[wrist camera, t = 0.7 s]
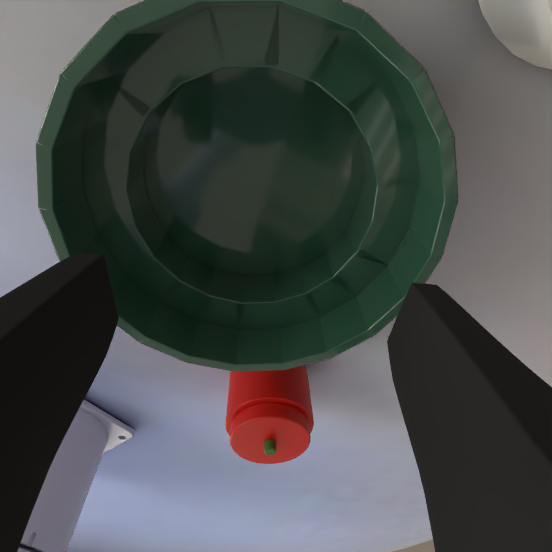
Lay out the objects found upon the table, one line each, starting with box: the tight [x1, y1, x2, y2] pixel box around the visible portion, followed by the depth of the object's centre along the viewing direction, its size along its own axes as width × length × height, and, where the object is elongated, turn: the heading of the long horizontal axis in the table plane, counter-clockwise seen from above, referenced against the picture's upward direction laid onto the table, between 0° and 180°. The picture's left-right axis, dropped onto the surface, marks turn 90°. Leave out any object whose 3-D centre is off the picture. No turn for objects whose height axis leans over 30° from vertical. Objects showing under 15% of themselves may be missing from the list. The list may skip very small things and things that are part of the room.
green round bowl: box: [36, 0, 458, 372], centre depth 16 cm, size 15×15×6 cm
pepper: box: [226, 365, 314, 464], centre depth 23 cm, size 5×5×6 cm
